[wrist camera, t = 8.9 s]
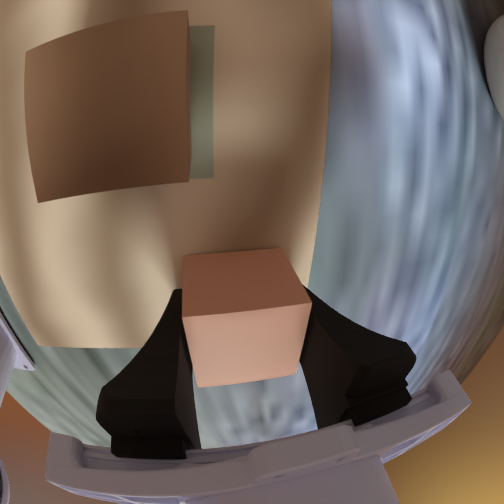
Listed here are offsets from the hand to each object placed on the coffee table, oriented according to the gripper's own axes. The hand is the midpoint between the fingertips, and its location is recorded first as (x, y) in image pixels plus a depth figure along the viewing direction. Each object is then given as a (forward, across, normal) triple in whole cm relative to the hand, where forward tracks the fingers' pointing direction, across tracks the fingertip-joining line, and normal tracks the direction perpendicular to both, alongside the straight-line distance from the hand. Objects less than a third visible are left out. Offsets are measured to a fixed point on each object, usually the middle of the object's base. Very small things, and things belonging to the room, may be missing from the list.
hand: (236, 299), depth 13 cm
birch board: (+2, +5, -8) cm, 10 cm away
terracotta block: (+1, 0, 0) cm, 1 cm away
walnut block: (+1, +4, -9) cm, 10 cm away
